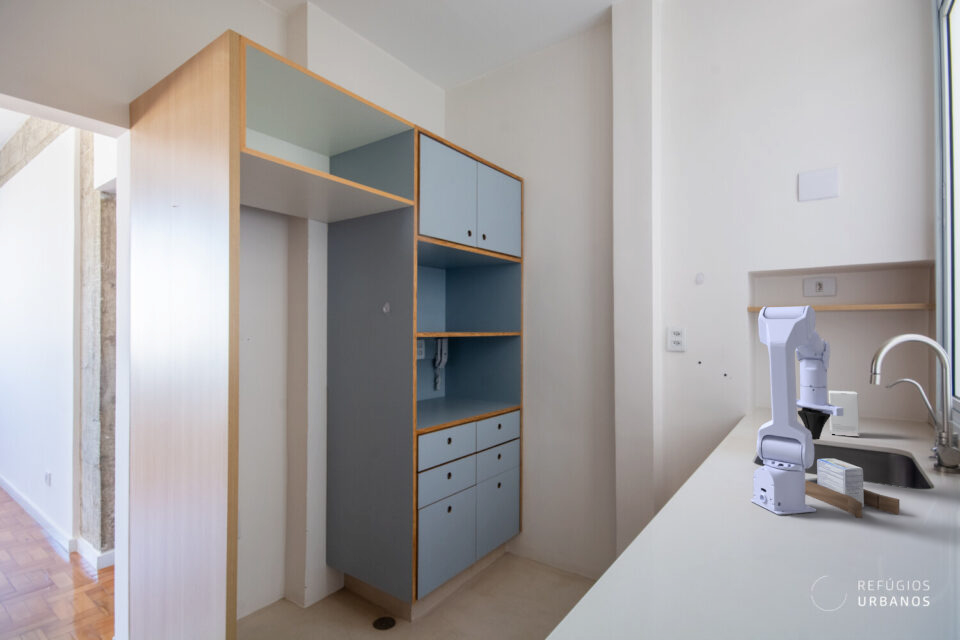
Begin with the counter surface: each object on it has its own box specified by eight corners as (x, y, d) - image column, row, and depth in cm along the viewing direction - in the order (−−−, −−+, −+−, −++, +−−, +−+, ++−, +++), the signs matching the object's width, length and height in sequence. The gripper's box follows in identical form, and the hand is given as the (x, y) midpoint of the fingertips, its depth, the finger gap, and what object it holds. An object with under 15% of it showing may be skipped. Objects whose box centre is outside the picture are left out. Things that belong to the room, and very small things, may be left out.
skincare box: (857, 434, 169) (856, 391, 169) (860, 438, 163) (859, 393, 163) (828, 431, 173) (828, 389, 173) (830, 435, 168) (829, 391, 168)
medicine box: (864, 508, 101) (864, 468, 102) (845, 508, 101) (844, 468, 101) (834, 495, 109) (834, 457, 109) (816, 495, 109) (816, 458, 109)
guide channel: (858, 518, 96) (858, 503, 96) (795, 492, 111) (795, 479, 111) (901, 514, 98) (901, 499, 98) (834, 489, 113) (834, 476, 113)
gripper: (853, 389, 114) (854, 445, 114) (802, 382, 128) (803, 431, 128) (829, 390, 113) (829, 446, 113) (780, 382, 127) (780, 432, 127)
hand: (814, 438), depth 120 cm, fingers closed
